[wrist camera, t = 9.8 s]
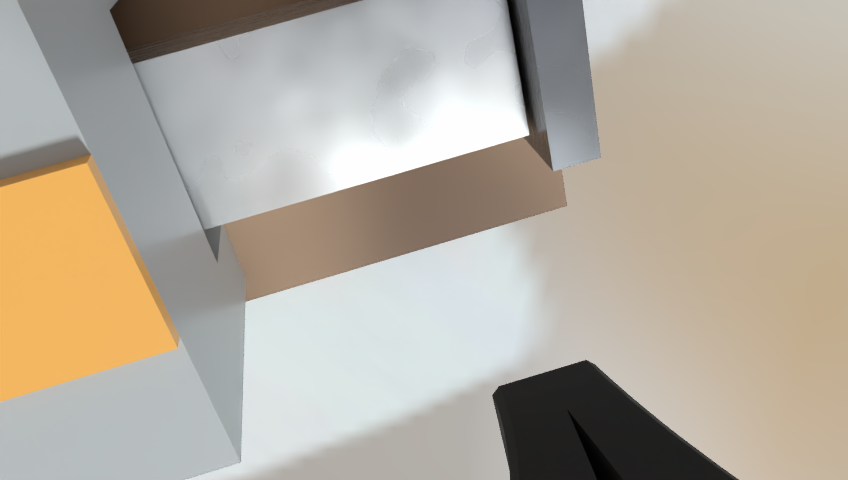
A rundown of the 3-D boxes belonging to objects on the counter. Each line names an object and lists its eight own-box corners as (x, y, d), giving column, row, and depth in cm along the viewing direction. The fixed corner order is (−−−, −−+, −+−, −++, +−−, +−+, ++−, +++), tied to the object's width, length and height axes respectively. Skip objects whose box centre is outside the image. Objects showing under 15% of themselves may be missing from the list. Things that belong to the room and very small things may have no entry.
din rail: (528, -87, 15) (573, -74, 13) (558, 117, 17) (600, 157, 15) (-404, 169, 14) (-524, 229, 12) (-249, 351, 16) (-326, 430, 14)
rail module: (90, -101, 14) (-21, -57, 8) (245, 278, 18) (240, 475, 12) (-156, -36, 13) (-441, 53, 8) (59, 333, 18) (-31, 559, 12)
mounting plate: (490, -214, 15) (503, -217, 14) (553, 189, 19) (567, 205, 19) (-453, 34, 14) (-500, 47, 13) (-158, 400, 18) (-179, 428, 18)
